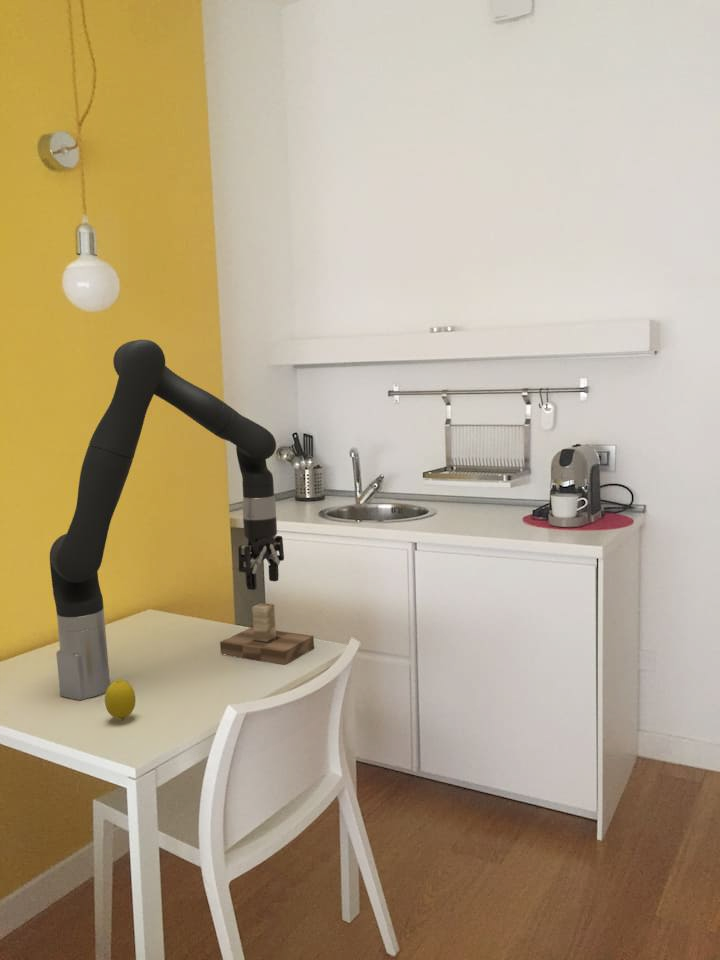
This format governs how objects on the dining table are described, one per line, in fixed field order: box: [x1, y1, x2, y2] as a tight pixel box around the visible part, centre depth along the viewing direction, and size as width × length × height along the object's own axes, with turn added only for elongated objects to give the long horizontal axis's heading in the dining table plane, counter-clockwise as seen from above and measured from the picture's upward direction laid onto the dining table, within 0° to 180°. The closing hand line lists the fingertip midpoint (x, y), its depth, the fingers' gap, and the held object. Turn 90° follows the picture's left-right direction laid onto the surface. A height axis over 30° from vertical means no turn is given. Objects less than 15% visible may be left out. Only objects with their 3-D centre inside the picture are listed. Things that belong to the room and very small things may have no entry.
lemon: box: [104, 678, 136, 721], centre depth 157 cm, size 6×6×8 cm
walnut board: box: [219, 626, 315, 666], centre depth 192 cm, size 12×18×3 cm, turn 61°
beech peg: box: [251, 602, 277, 643], centre depth 192 cm, size 4×4×11 cm
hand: (263, 585), depth 191 cm, fingers open, 8 cm apart
